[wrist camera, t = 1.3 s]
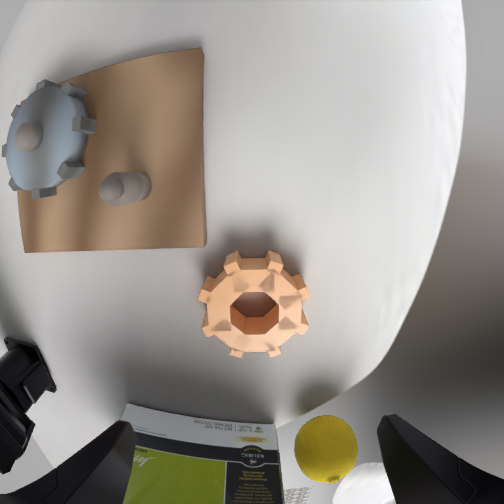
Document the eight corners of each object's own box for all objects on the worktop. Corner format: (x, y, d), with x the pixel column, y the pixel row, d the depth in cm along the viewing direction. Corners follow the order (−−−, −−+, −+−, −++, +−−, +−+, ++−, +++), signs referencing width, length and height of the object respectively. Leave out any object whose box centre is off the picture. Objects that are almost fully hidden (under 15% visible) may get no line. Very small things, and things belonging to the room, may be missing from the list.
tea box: (141, 449, 25) (111, 543, 10) (127, 398, 22) (74, 518, 8) (263, 466, 25) (267, 568, 11) (279, 421, 23) (292, 557, 8)
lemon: (282, 410, 22) (291, 481, 14) (340, 391, 22) (365, 458, 14) (298, 438, 23) (308, 499, 16) (348, 421, 23) (369, 480, 15)
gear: (209, 339, 20) (204, 358, 18) (201, 251, 18) (194, 262, 16) (300, 337, 20) (305, 355, 18) (304, 249, 18) (312, 259, 16)
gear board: (33, 249, 18) (-8, 267, 13) (29, 103, 14) (-12, 95, 9) (207, 242, 18) (190, 269, 13) (203, 54, 14) (187, 15, 9)
